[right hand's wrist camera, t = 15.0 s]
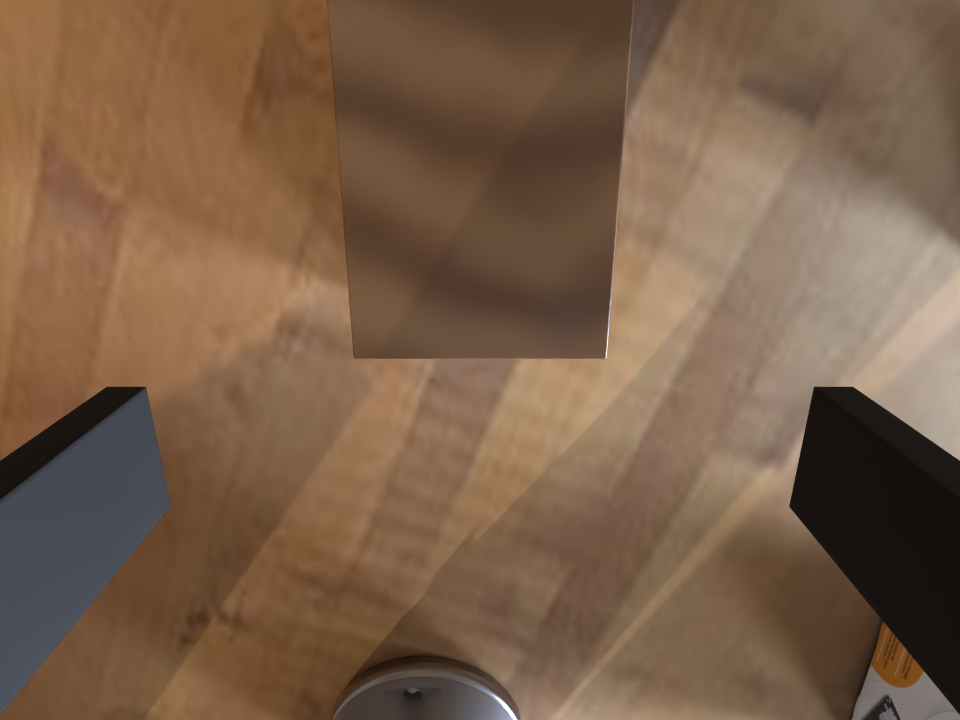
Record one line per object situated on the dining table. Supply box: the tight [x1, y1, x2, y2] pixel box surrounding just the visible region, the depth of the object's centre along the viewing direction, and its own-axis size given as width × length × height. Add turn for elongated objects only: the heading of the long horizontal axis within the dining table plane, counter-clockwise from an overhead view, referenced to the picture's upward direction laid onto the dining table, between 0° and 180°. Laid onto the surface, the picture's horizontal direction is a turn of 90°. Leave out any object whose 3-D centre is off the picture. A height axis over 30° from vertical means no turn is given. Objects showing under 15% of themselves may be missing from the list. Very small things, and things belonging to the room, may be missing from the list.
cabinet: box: [327, 0, 635, 359], centre depth 30 cm, size 20×12×10 cm, turn 0°
